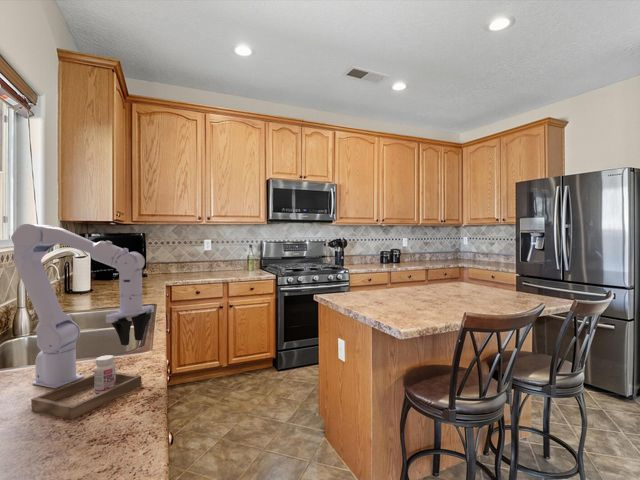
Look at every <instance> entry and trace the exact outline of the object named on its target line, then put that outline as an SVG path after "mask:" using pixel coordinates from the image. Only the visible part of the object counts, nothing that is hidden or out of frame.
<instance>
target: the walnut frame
mask: <svg viewBox="0 0 640 480" xmlns="http://www.w3.org/2000/svg"><path fill="white" fill-rule="evenodd" d="M116 384H117V385H116V386H115V387H112V388H110V389H108V390H106V391H104V392H102V393H96V394H95V395H93V396H91V397H89V398H87V399H84V400H82V401H80V402H78V403H76V404H69V403H63V402H59V401H60V400H63V399H64V398H67V397H69V396H72V395H75V394H77V393H79V392H81V391H84V390H86V389H89V388H90V387H93V386H94V374H91V375H89V376H86V377H83V378H80V379H78V380H75V381H73V382H70V383H68V384H65V385H63V386H60V387H58V388H55V389H53V390H51V391H48V392H47V393H43V394H41V395H38V396H36V397H34V398H32V399H30V401H31V403H30V404H31V405H30V406H31V411H34V412H39V413H43V414H48V415H52V416H56V417H60V418H65V419H69V420H74V419H76V418H78V417H80V416H83V415H84V414H87V413H88V412H90V411H92V410H94V409H96V408H98V407H100V406H102V405H105V404H107V403H109V402H111V401H113V400H115V399H116V398H119V397H121V396H122V395H125V394H126V393H129V392H131V391H133V390H135V389H137V388H140V387H141V386H142V375H137V374H130V373H124V372H118V371H116Z"/></svg>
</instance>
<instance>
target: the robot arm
mask: <svg viewBox="0 0 640 480" xmlns="http://www.w3.org/2000/svg"><path fill="white" fill-rule="evenodd" d="M10 239H11V241H12V244H13V254H12V255H13V259H12V260H13V263H14V265H15V268H16V270H17V272H18V274H19V277H20V279H21V282H22V284H23V286H24V288H25V289H24V290H25V291H26V293H27V295H28V298H29V300H30V303H31V304H32V306H33V310H34V311H35V313H36V315H37V318H38V322H37V325H36V327H35V328H34V329H35V333H36V345H37V347H38V349H39V350H40V352H38V354H37V355H36V358H35V363H34V365H35V380H34V381H32V382H31V384H32V385H36V386H40V387H41V386H42V387H45V388H47V387H48V388H51V389H52V388H53V389H58V388H61V387H63V386H66V385H68V384H71V383H73V382H76V381H79V380H81V379H84V378H85V376H84V375H83V374H78V373H77V351H76V348H77V347H76V345H77V340H78V339H79V338H80V336H81V328H80V326H79V325H78V324H77V323H76V322H75V321H74V320H73V319H72V316H71V315H70V314H68V313H66V312H64V311H63V309H62V307H61V304H60V302H59V300H58V298H57V294H56V293H55V291H54V287H53V286H52V283H51V281H50V278H49V276H48V274H47V272H46V269H45V267H44V264H43V262H42V260H43V258H44V256H45V255H46V254H47V253H48V252H49V251H50V250H52V249H53V247H55V246H56V245H58V244H59V245H60V244H62V245H64V246H67V247H71V248H73V249H76V250H79V251H82V252H85V253H88V254H89V255H90V257H91V259H92V260H94V261H96V262H99V263H102V264H104V265H106V266H109V267H111V268H114V269H116V270H117V272H118V275H119V278H118V282H119V283H118V284H119V286H118V287H119V310H117V311H115V312H113V313H109V314H106V315H105V323H107V324H110V325H112V326H113V328H114V329H115V331H116V333H117V335H118V339H119V341H120V345H121V346H129V345H130V337H131V335H130V333H131V326H132V325H133V336H134V340H135V341H138V342H139V341H141V342H142V341H143V338H144V334H145V331H146V328H147V325H148V323H149V322H150V320H151V318H152V316H151V315H152V314H149V313H154V312H155V306H154V305H150V304H148V305H144V302H143V299H144V298H143V272H142V271H143V269H144V266H145V264H146V259H145V257H144V256H143V254H141V253H139V252H138V251H130V252H129V248H127V247H123V248H122V247H120V246H117V245H115V244H113V241H110V240H105V241H104V240H100V241H98V242H95V241H92V240H91V239H88V238H86V237H83V236H82V235H78V234H77V233H74V232H71V231H70V230H67V229H64V228H63V227H58V226H55V225H53V224H32V223H23V224H20V225H19V226H17V228H16V229H15V231H14V232H13V233H12V235H11V236H10ZM129 318H131V320H128V319H129Z"/></svg>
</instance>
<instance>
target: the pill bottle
mask: <svg viewBox="0 0 640 480" xmlns="http://www.w3.org/2000/svg"><path fill="white" fill-rule="evenodd" d="M93 370H94V373H93V375H94V385H93V386H94V388H93V389H94V392H95V393H96V394H99V393H102V392H104V391H106V390H108V389H110V388H112V387H115V386H117V385H116V384H117V383H116V372H117V371H116V363H115V357H114V355H111V354H108V355H107V354H106V355H101V356H98V357H96V359H95V366H94V369H93Z"/></svg>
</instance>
